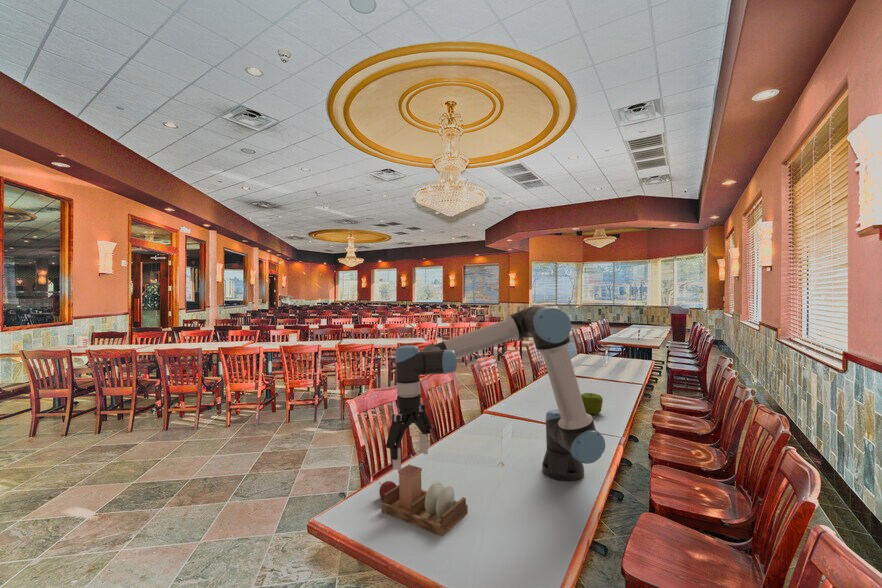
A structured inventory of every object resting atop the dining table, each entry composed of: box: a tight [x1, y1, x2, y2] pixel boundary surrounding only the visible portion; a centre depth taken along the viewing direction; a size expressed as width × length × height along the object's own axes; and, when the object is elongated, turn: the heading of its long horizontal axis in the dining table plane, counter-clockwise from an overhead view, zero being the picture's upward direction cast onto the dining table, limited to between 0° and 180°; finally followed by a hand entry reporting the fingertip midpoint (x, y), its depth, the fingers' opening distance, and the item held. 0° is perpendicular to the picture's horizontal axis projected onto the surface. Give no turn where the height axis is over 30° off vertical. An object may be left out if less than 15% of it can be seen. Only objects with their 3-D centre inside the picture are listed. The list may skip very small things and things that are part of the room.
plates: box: [425, 481, 455, 518], centre depth 117 cm, size 5×9×9 cm, turn 145°
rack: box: [381, 484, 469, 537], centre depth 120 cm, size 23×14×5 cm, turn 55°
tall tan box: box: [397, 464, 423, 509], centre depth 123 cm, size 5×5×11 cm
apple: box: [581, 392, 604, 416], centre depth 218 cm, size 12×12×11 cm
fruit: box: [376, 478, 397, 501], centre depth 130 cm, size 6×6×8 cm
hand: (411, 461), depth 123 cm, fingers open, 13 cm apart
